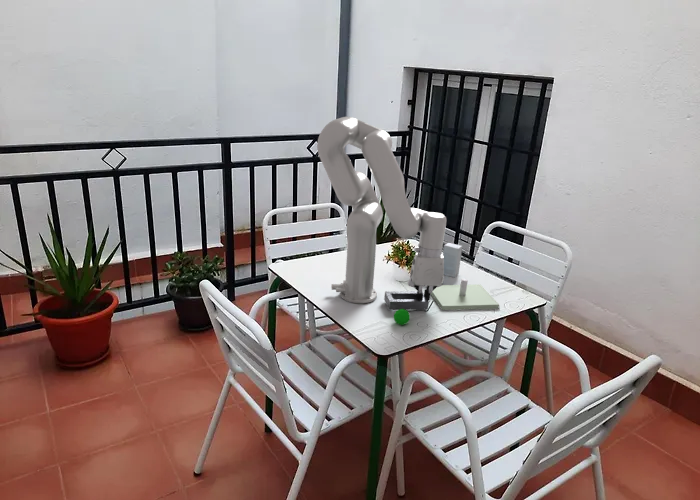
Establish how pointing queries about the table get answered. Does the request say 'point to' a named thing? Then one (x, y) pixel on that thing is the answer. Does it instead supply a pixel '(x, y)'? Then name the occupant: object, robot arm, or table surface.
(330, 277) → the table surface
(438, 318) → the table surface
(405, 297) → the grey hollow rectangular box
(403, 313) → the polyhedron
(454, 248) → the skincare box
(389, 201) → the robot arm
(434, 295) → the keeper board
